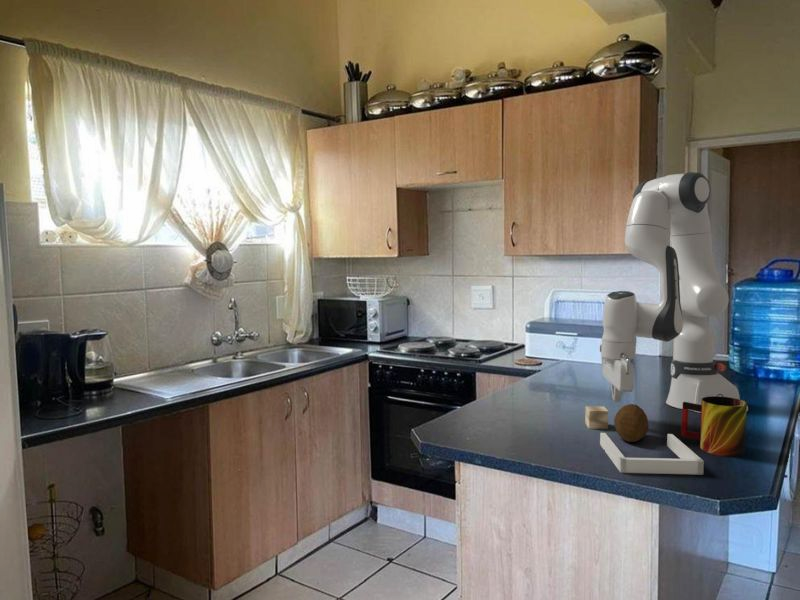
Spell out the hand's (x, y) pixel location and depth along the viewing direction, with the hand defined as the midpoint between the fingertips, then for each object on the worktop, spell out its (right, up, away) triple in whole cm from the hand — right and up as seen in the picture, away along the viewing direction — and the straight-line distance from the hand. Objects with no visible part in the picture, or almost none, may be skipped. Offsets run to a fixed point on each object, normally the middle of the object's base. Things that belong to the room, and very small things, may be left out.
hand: (616, 400), depth 169 cm
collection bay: (-2, -9, -25) cm, 27 cm away
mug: (+17, -9, -19) cm, 27 cm away
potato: (0, -8, -11) cm, 14 cm away
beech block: (-5, -7, 0) cm, 9 cm away
